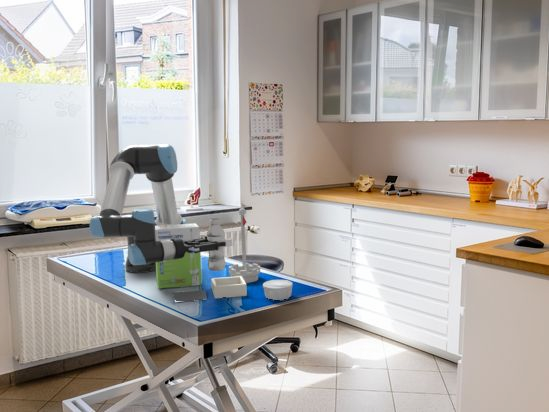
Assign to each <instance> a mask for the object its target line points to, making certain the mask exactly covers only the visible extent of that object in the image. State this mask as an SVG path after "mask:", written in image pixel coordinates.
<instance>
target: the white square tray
mask: <svg viewBox="0 0 549 412" xmlns="http://www.w3.org/2000/svg"><path fill="white" fill-rule="evenodd" d="M210 279H211V280H210V281H211V283H210V284H211V291H212V294H213V297H214V299H224V298H223V297H226V298H235V297H246V296H248V295H247V294H248V293H247V290H248V289H247V287H248V286H247V283H245V281H244V279H243V278H242V276H235V277H232V276H226V277H213V278H210Z"/></svg>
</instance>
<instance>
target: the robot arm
mask: <svg viewBox="0 0 549 412" xmlns="http://www.w3.org/2000/svg"><path fill="white" fill-rule="evenodd" d="M108 169H109V170H108V173H109V175H110V176H109V179H108V182H107V186H106V190H105V194H104V197H103V201H102V205H101V208H100V212H99V215H96V216H92V217H90V219H89V231H90V235H91V236H92V237H93V238H103V239H105V238H106V239H107V238H127V241H126V242H127V257H126V261H125V263H124V267H125V269H126V270H128V271H132V272H131V273H147V272H146V271H149V272H152V271H156V262H161V261H163V262H166V260H172V259H180V258H183V257H184V255H185V253H186V252H188V253H192V252H194V253H199V252H200V253H203V252H209V251H212V250H217V251H218V249H219V248H222V247H223V248H227V247H228V248H229V247H233V246H234V245H233V243H234V242H233V238H224V240H218V241H216V242H208V238H207V235H206V236H204V237H200V238H197V239H191V240H184V241H183V240H182V239H181V238H174V239H171V240H170V239H166V240H160V241H156V234H155V226H160V225H177V224H187V219H186V218H182V215H181V213H179V212H178V209H177V203H176V196H175V191H174V185H173V177H175V173H177V172H178V160H177V154H176V150H175V148H174V147H173V145H171V144H164V143H159V144H133V145H129V146H127V147H125V148H123V149H121V151H119V152H118V153H117V154H116V155H115V156H114V158H113V159H112V160H111V162H110V165H109V168H108ZM135 175H145V178H146V179H147V180H148V181H150V184H151V188H152V192H153V197H154V204H155V208H156V212H157V217H156V218H155V212H154V210H153V209H151V208H136V209H133V210H132V212H131V214H127V215H126V214H125V215H123V210H124V208H125V207H124V206H125V203H126V198H127V194H128V189H129V186H130V182H131V180H132V179H133V178H134V176H135ZM126 270H125V271H126ZM128 271H127V272H128Z"/></svg>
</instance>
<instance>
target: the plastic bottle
mask: <svg viewBox="0 0 549 412" xmlns="http://www.w3.org/2000/svg"><path fill="white" fill-rule="evenodd" d="M220 224H221V218H219V217H218V218H217V217H215V218H210V219H209V225H210V226H209V228H208V229H207V231H206V236H207V239H208V242H216V241H218V240H225V230H224V229H223V228H222V226H221V225H220ZM207 260H208V261H207V267H208V270H209V271H211V272H220V271H221V272H222V271H224V270H225V268H226V259H225V252H224V247H222V248H219V249H218V251H217V250H212V251H208V259H207Z"/></svg>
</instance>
